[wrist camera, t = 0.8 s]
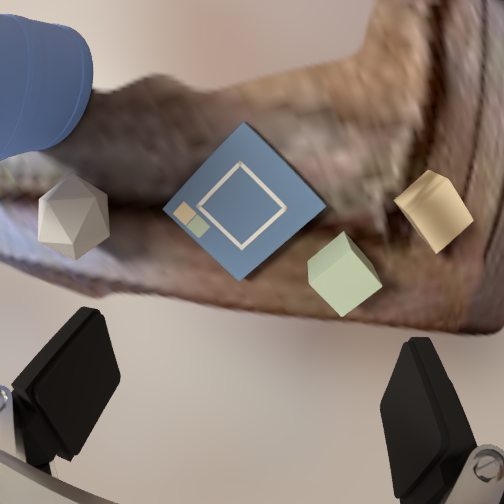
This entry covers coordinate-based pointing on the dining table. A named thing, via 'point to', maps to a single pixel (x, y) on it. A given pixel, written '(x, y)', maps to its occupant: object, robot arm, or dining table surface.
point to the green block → (343, 274)
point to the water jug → (40, 83)
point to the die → (73, 217)
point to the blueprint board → (243, 202)
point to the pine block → (434, 210)
